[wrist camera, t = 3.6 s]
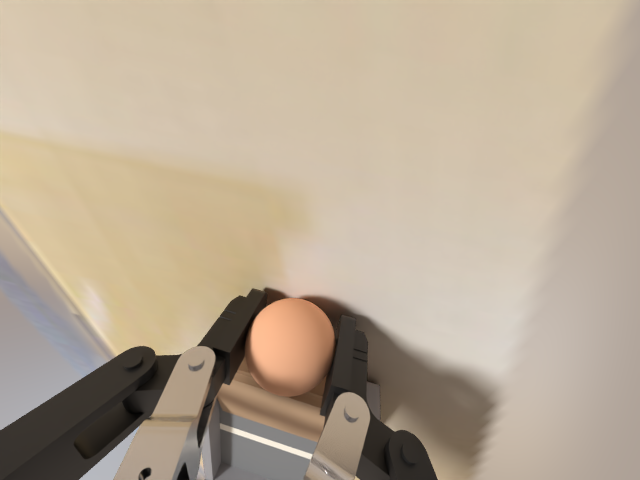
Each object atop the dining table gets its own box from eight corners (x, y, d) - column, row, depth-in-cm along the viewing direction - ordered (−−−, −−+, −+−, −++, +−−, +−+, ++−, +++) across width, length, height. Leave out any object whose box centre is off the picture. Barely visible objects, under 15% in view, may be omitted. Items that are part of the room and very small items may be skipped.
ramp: (231, 323, 15) (203, 365, 13) (363, 364, 15) (361, 416, 12) (230, 395, 20) (209, 437, 17) (333, 428, 19) (326, 477, 17)
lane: (208, 332, 15) (173, 379, 12) (379, 385, 14) (381, 446, 12) (216, 459, 25) (197, 500, 22) (316, 494, 24) (310, 541, 22)
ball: (269, 271, 12) (226, 339, 8) (349, 293, 11) (339, 373, 8) (263, 326, 14) (226, 399, 10) (331, 346, 13) (316, 428, 10)
